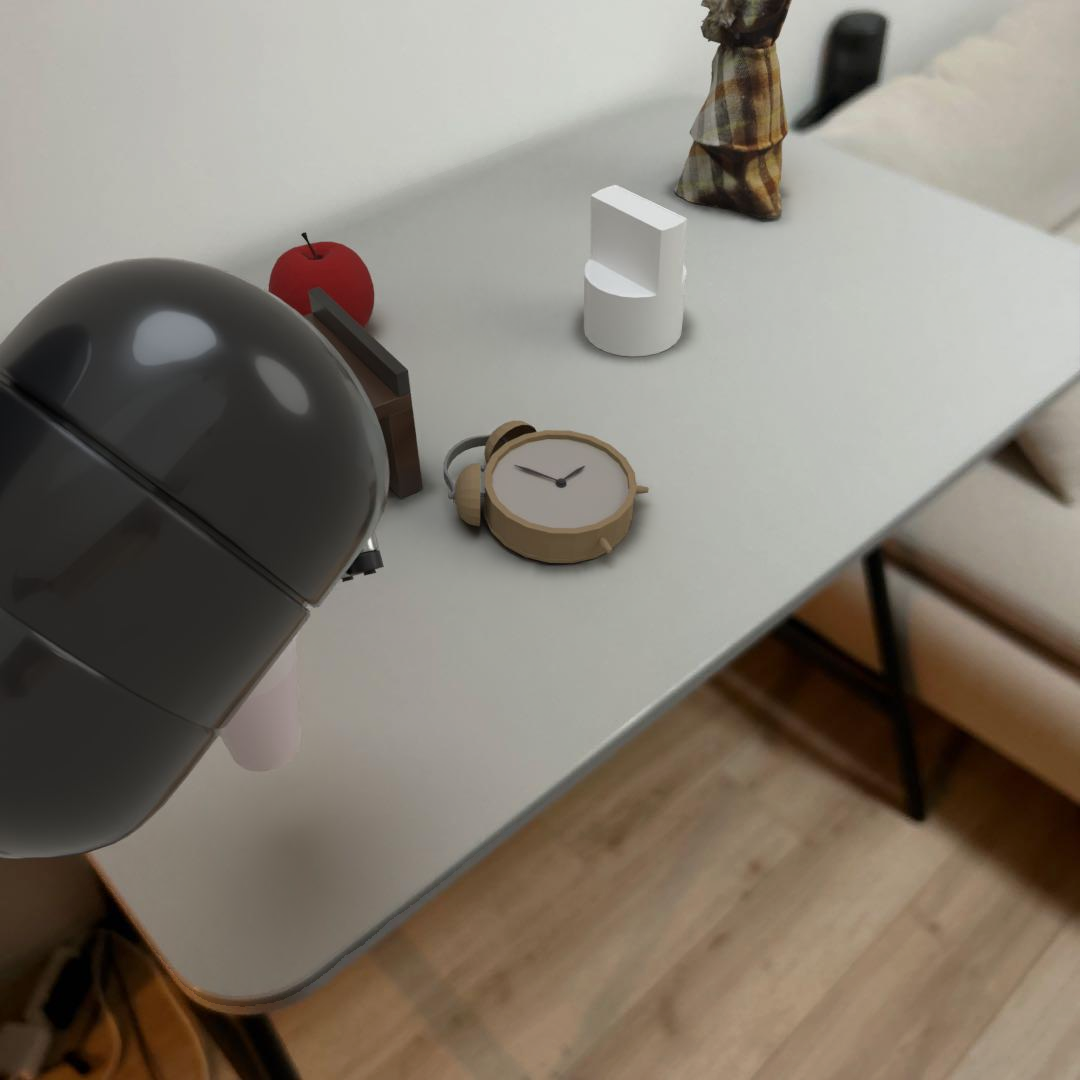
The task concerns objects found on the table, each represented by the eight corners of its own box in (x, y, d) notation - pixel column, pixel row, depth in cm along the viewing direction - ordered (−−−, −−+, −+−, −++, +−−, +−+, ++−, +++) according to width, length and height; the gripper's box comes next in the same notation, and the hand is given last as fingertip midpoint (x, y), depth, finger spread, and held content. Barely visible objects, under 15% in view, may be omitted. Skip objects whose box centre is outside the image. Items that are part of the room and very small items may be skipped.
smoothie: (288, 809, 54) (231, 619, 45) (179, 772, 56) (102, 582, 46) (348, 713, 59) (308, 521, 49) (245, 681, 60) (188, 490, 51)
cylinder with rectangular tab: (563, 327, 100) (562, 205, 92) (633, 292, 104) (638, 173, 96) (631, 368, 95) (637, 244, 87) (702, 330, 99) (714, 208, 91)
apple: (287, 371, 96) (265, 270, 89) (271, 319, 102) (249, 220, 95) (389, 350, 98) (375, 250, 91) (367, 300, 104) (353, 203, 97)
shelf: (177, 600, 76) (132, 478, 68) (111, 493, 84) (64, 375, 77) (423, 489, 84) (408, 369, 76) (340, 402, 93) (319, 286, 85)
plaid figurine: (653, 215, 113) (728, -44, 97) (643, 161, 123) (709, -81, 107) (780, 240, 115) (875, -10, 99) (760, 185, 125) (843, -50, 109)
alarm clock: (604, 556, 74) (413, 470, 77) (592, 601, 78) (410, 517, 81) (662, 460, 81) (486, 385, 84) (648, 505, 85) (480, 431, 88)
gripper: (377, 416, 37) (348, 474, 53) (-78, 515, 33) (41, 544, 50) (431, 629, 37) (386, 622, 53) (-18, 751, 33) (81, 703, 50)
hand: (219, 584), depth 51 cm, fingers closed on smoothie, 6 cm apart
